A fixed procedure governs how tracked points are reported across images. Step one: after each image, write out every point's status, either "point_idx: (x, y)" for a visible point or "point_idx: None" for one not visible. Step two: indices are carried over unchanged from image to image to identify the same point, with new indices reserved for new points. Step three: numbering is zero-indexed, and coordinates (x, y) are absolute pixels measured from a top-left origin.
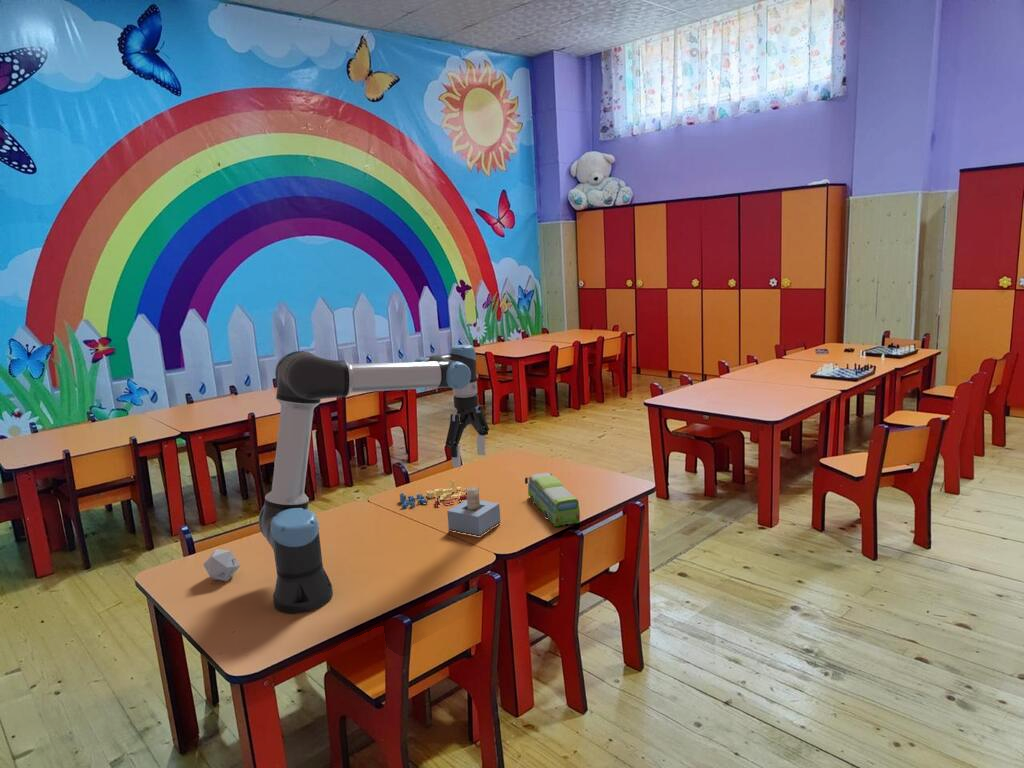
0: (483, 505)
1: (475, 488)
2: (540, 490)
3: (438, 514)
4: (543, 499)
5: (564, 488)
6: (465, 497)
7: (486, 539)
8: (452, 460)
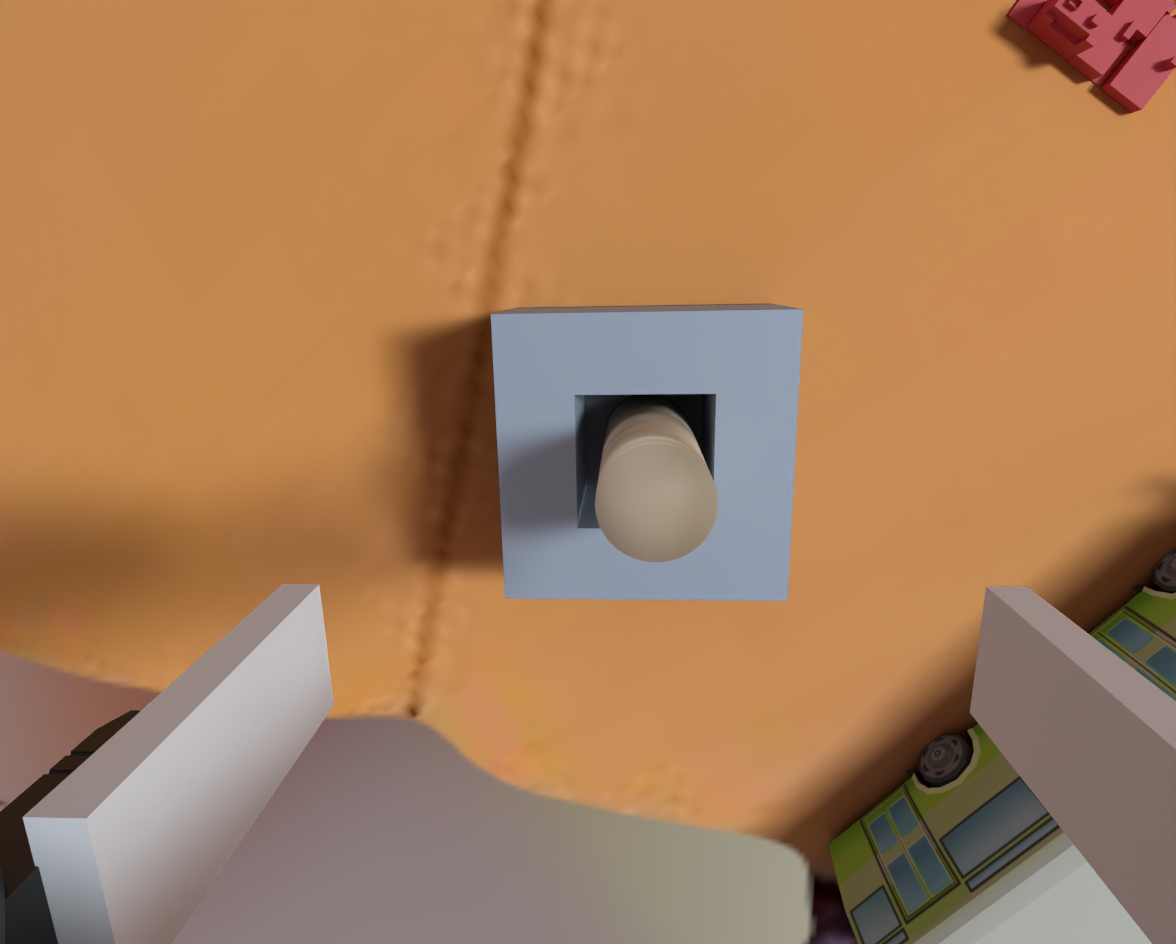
0: None
1: (681, 521)
2: None
3: (734, 22)
4: None
5: None
6: (1081, 38)
7: None
8: (231, 639)
